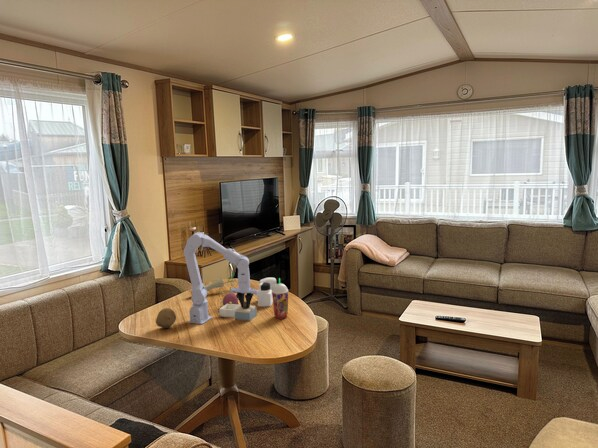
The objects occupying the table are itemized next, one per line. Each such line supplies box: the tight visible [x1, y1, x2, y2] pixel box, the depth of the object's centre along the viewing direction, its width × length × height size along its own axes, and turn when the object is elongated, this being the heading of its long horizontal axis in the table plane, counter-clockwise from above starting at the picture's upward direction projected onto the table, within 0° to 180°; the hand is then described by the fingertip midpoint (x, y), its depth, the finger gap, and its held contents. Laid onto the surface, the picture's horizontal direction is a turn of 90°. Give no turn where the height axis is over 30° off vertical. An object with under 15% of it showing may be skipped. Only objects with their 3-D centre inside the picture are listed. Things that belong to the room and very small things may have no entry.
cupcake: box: [222, 292, 239, 306], centre depth 219 cm, size 9×8×12 cm
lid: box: [236, 300, 257, 313], centre depth 205 cm, size 7×7×4 cm
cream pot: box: [218, 304, 241, 319], centre depth 210 cm, size 8×8×4 cm
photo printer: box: [258, 277, 278, 290], centre depth 232 cm, size 10×4×12 cm, turn 117°
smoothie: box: [272, 277, 289, 320], centre depth 203 cm, size 8×8×20 cm
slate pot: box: [234, 307, 258, 322], centre depth 205 cm, size 8×8×4 cm
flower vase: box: [190, 271, 238, 295], centre depth 246 cm, size 12×12×35 cm
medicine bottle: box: [256, 282, 273, 307], centre depth 223 cm, size 7×7×12 cm
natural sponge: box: [155, 307, 177, 329], centre depth 194 cm, size 9×9×10 cm
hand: (245, 307), depth 205 cm, fingers closed on lid, 2 cm apart
